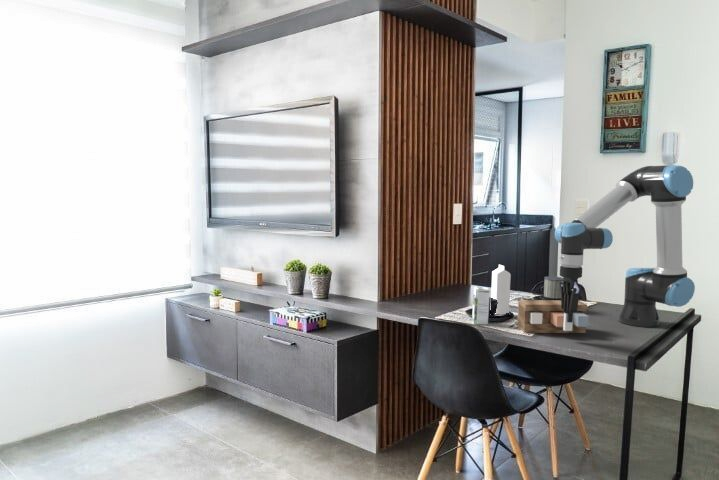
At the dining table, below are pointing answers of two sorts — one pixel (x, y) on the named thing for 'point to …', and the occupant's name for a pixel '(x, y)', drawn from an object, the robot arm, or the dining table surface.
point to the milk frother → (552, 288)
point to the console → (544, 316)
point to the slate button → (580, 319)
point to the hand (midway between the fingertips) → (567, 330)
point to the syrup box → (480, 305)
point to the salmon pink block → (556, 318)
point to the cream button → (535, 317)
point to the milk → (501, 289)
